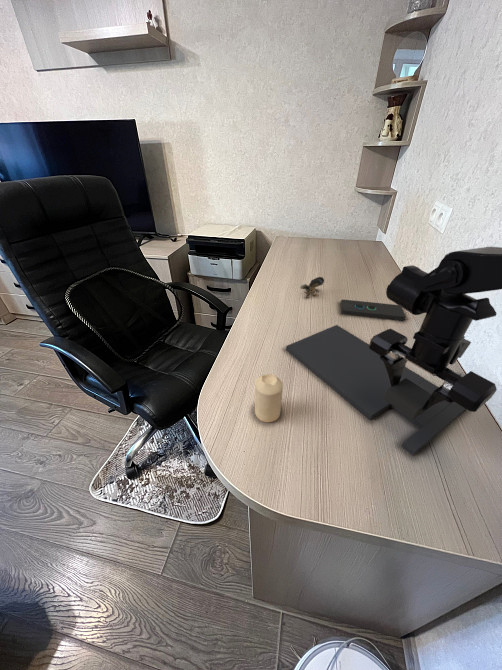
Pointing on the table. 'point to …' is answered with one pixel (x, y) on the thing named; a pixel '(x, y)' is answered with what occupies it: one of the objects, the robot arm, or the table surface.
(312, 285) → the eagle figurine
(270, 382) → the candle
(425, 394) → the black block
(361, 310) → the smart home device
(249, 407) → the table surface
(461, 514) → the table surface
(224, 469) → the table surface
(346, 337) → the mat
